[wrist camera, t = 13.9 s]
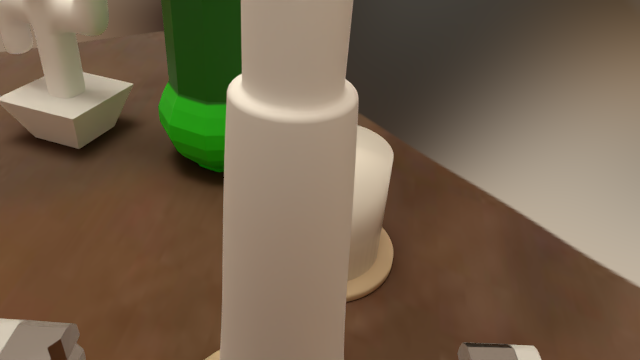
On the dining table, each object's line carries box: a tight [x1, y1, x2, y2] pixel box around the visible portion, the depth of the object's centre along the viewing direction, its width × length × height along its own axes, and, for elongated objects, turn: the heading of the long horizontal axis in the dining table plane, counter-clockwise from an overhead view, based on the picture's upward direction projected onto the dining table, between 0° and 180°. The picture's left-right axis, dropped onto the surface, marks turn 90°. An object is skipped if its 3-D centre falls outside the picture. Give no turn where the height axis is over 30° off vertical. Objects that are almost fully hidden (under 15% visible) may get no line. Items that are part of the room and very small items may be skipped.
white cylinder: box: [347, 125, 393, 281], centre depth 32 cm, size 7×7×7 cm
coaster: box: [346, 228, 393, 302], centre depth 34 cm, size 9×9×1 cm
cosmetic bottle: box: [219, 0, 358, 360], centre depth 17 cm, size 6×6×22 cm
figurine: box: [0, 0, 133, 149], centre depth 41 cm, size 7×9×15 cm
